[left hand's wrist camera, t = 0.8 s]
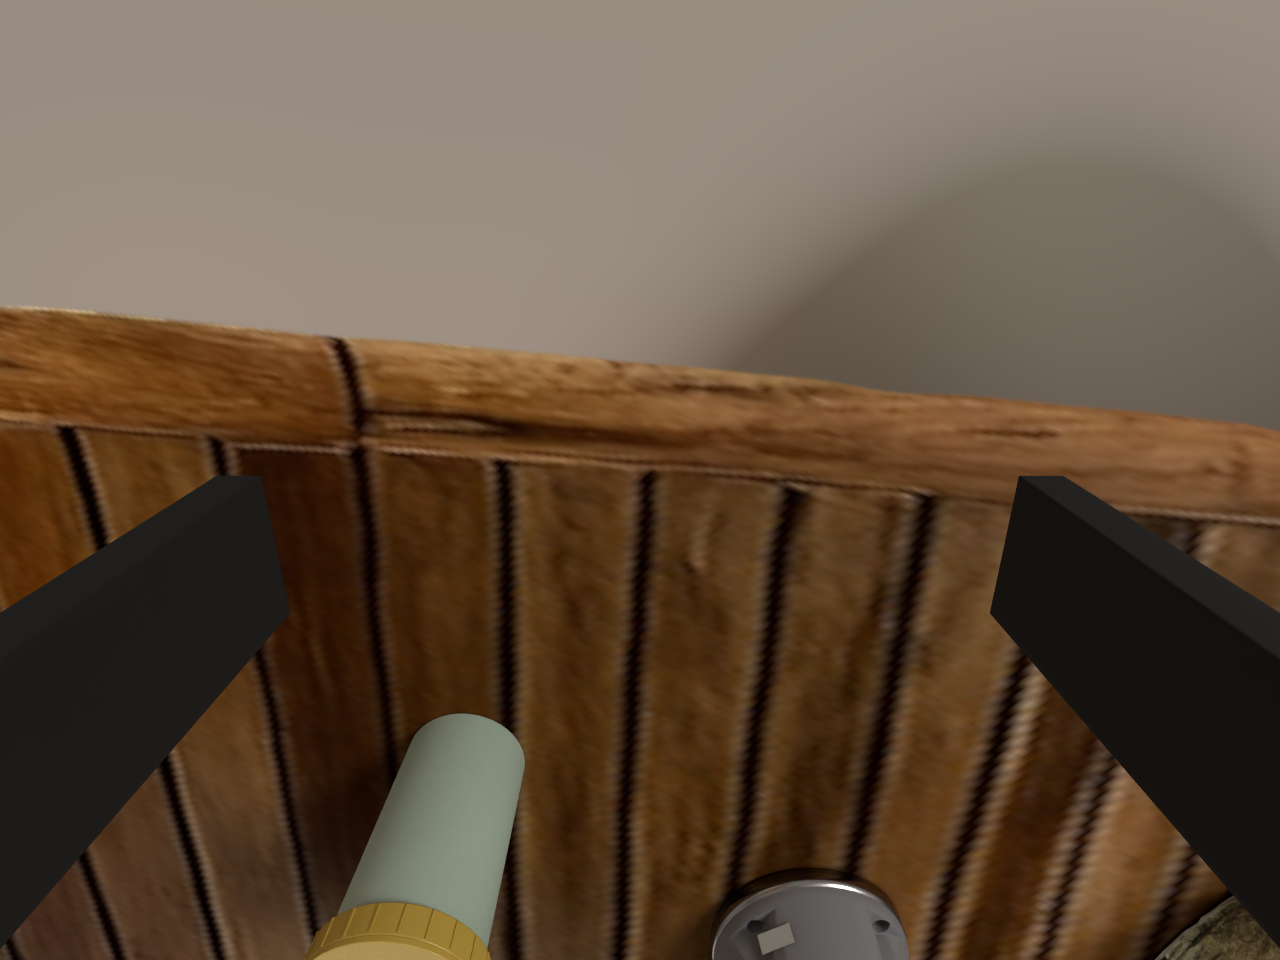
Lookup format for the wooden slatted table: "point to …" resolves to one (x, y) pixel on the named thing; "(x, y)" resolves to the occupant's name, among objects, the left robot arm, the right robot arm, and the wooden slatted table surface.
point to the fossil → (1223, 937)
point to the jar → (446, 823)
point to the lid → (396, 935)
